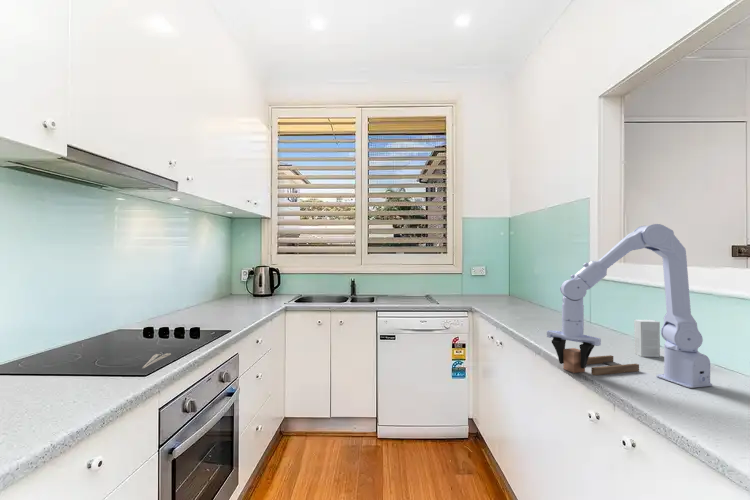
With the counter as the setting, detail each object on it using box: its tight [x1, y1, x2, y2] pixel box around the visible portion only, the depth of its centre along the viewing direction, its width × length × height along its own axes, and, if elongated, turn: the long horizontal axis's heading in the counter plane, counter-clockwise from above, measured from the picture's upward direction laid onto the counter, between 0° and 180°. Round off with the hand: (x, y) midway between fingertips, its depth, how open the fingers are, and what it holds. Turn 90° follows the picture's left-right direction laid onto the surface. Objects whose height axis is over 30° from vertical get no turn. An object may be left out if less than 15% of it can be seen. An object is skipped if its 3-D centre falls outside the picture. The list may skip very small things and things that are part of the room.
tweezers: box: [141, 353, 172, 369], centre depth 119 cm, size 18×5×2 cm, turn 5°
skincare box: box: [633, 319, 661, 358], centre depth 129 cm, size 6×4×12 cm
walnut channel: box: [586, 354, 640, 376], centre depth 115 cm, size 10×16×2 cm, turn 104°
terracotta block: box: [562, 347, 586, 374], centre depth 113 cm, size 4×4×6 cm
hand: (572, 365), depth 113 cm, fingers closed on terracotta block, 5 cm apart
